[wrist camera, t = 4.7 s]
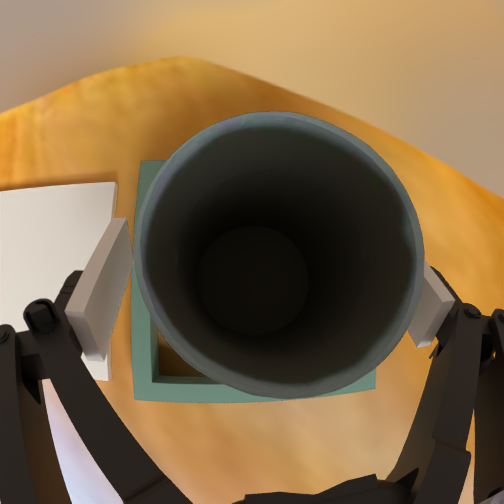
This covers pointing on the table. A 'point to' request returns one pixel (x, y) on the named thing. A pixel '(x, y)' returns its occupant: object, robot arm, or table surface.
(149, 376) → the square holder
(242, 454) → the table surface
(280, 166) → the grey-green cup
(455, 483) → the robot arm
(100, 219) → the ceramic tile
